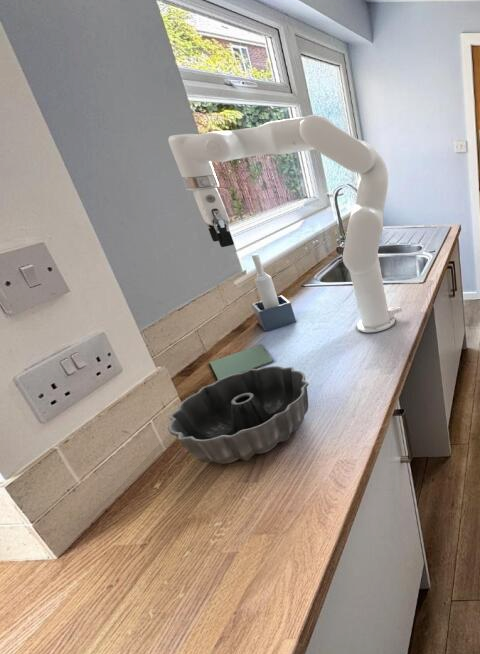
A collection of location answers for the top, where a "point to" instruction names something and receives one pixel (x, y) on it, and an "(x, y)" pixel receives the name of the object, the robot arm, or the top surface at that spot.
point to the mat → (240, 362)
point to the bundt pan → (241, 414)
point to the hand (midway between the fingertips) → (223, 243)
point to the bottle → (264, 285)
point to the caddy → (274, 314)
